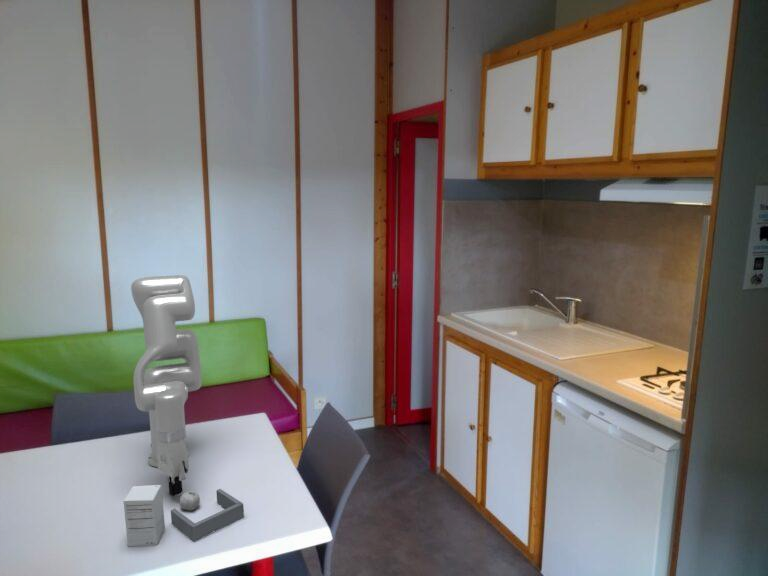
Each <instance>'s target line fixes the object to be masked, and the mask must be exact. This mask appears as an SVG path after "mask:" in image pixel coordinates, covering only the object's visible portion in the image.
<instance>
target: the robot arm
mask: <svg viewBox="0 0 768 576" xmlns="http://www.w3.org/2000/svg"><path fill="white" fill-rule="evenodd" d="M130 290H131V296H132V299H133V302H134V304H135V306H136V308H137V309H138V312H139V314H140V316H141V318H142V319H141V320H142V325H143V326H142V327H143V334H144V335H143V336H144V346H145V352H144V353H143V354H142V355H141V357H140V359H139V360H138V362H137V364H136V366H135V368H134V371H133V377H132V378H133V392H134V402H135V407H136V408H137V409H138V411H141V412H148V416H149V429H150V442H151V443H150V447H151V453H150V454H149V455H148V457H147V463H148V465H150V466H151V467H154V468H158V469H159V471H161V472H162V473H164V474H166V477H167V481H168V493H169V495H170V496H171V497H175V496H177V495H180V494H183V481H184V480H186V479H187V476H186V474H187V473H188V472H189V470H190V469H189V467H190V466H189V455H190V454H189V450H188V448H187V443H186V442H187V441H186V437H187V432H186V419H185V418H186V417H185V415H186V414H185V404H186V402H187V400H188V397H189V393H190V392H194V391H198V390H199V389H200V388H202V382H203V381H202V380H203V379H202V378H203V377H202V370H201V369H202V367H201V358H200V348H199V343H198V342H199V341H198V336H197V334H196V333H195V332H194V331H193V330H192V329H190V328H183V329H181V328H180V329H177V327H176V322H183V321H184V322H185V321H191V320H192V319H194V317H195V314H196V313H195V312H196V306H195V305H196V302H195V299H194V298H195V297H194V295H193V290H192V286H191V282H190V279H189V278H188V277H187V275H179V274H177V275H164V276H163V275H160V276H156V275H155V276H147V277H141V278H138V279H135V280H134V281H133V282H132V283H131V288H130ZM174 360H184V361H185V362H181V363H180V362H178V363H170V364H162V365H156V366H155V365H154V366H152V367H150V368H148V367H149V365H150V364H152V363H153V362H165V361H174ZM147 368H148V369H147Z"/></svg>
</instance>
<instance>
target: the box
mask: <svg viewBox="0 0 768 576" xmlns="http://www.w3.org/2000/svg"><path fill="white" fill-rule="evenodd" d="M216 503H218V504H217V505H219V506H220V505H221V508H223V507H224V509H223V510H221V511H218V512H216V513H215V514H211V515H210V516H208V517H205V518H203V519H201V520H199V521H197V522H194V521H192V520H191V519H189V518H188V517H187V516H186V515H184V514H183V513H182V512H180V511H179V510H178V509H176V508H173V509H171V510H170V518H171V520H170V521H171V525H172V524H173V525H172V526H173V527H175V528H176V529H177V530H178V531H180V532H181V533H182V534H183V535H184V536H185V537H187V536H188V537H187V538H188V539H190V540H191V541H192V540H193V541H192V542H196V541H199V540H201V539H202V537H203V538H205V537H206V535H207V536H209V535H210V533H211V534H213V533H214V532H213V531H215V532H217V531H218V529H219V530H221V529H222V527H223V528H225V527H227V526H229V525H231V524H232V523H235V522H237V521H239V520H241V519H243V518H245V513H244V511H245V510H244V503H243V502H242V501H240V500H239V499H237V498H236V497H234V496H233V495H231V494H229V493H228V492H226V491H224V490H223V489H222V488H218V489H216ZM236 520H237V521H236ZM224 526H225V527H224ZM220 528H221V529H220ZM216 530H217V531H216ZM212 532H213V533H212ZM208 534H209V535H208ZM204 536H205V537H204ZM200 538H201V539H200Z"/></svg>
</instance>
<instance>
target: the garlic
mask: <svg viewBox="0 0 768 576" xmlns="http://www.w3.org/2000/svg"><path fill="white" fill-rule="evenodd" d="M200 501H201V498H200V495H199V493H198V491H193V490H188V491H185V492H184V493H183V492H182V493H181V496H180V497H179V505H180V507H181V508H182V510H184V511H185V510H186V511H193V510H195V509H196V508H197V507H198V506H199V505H200Z"/></svg>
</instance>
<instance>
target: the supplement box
mask: <svg viewBox="0 0 768 576" xmlns="http://www.w3.org/2000/svg"><path fill="white" fill-rule="evenodd" d="M123 509H124V521H125V530H126V539H127V547H148V546H149V547H150V546H158V545H159V543H160V540H161V537H162V535H163V534H164V532H165V529H166V526H165V525H166V524H165V512H164V511H165V510H164V500H163V490H162V485H161V484H151V485H149V484H148V485H134V486H132V487H131V489H130V490H129V492H128V494H127V495H126V497H125V498H124V500H123Z"/></svg>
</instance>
